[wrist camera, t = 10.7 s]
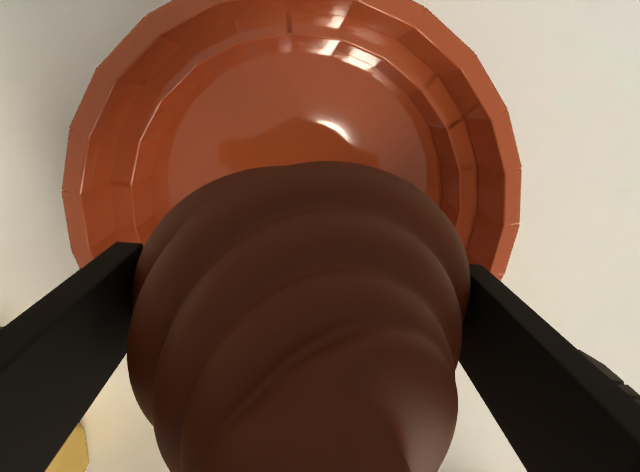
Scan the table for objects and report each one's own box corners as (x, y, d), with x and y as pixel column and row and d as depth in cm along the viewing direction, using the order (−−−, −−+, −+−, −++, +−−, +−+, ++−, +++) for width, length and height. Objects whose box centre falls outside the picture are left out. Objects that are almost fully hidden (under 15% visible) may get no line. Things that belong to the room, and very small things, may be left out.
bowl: (142, 334, 24) (96, 402, 19) (107, -15, 17) (16, -71, 12) (427, 345, 26) (462, 411, 21) (502, 34, 19) (588, 5, 13)
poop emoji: (452, 137, 11) (1169, 298, 2) (444, 362, 14) (701, 822, 5) (121, 173, 10) (-789, 530, 2) (188, 392, 14) (-16, 923, 5)
